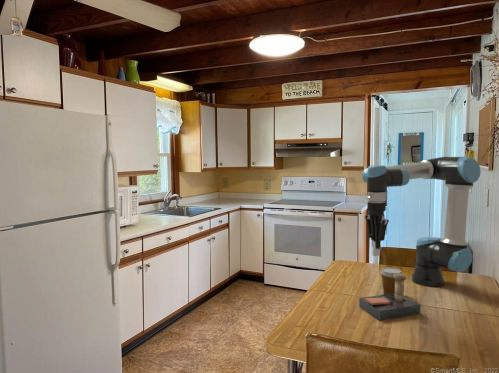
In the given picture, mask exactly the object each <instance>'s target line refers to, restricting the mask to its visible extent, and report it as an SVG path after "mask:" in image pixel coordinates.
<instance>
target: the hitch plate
mask: <svg viewBox="0 0 499 373" xmlns="http://www.w3.org/2000/svg"><path fill="white" fill-rule="evenodd" d="M383 296H384V297H386V298H388V299H389V300H391V301H393V303H392V304H391V303H390V304H377V305H372V304H370V303H368V302H367V301H365V298H382V297H383ZM421 306H422V305H421V304H420V303H418V302H417V301H415V300H412V299H411V298H409V297H407V296H405V295H404V302H397V301H395V293H391V294H384V293H383V294H377V295H371V296H365V297H363V296H362V297H359V302H358V307H359V308H360V309H362V310H363V311H364V312H366V313H367V314H369V315H371V316H372V317H373V318H374V319H376V320H378V321H386V320H391V319H399V318H405V317H409V316H416V315H421V308H422V307H421Z"/></svg>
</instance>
